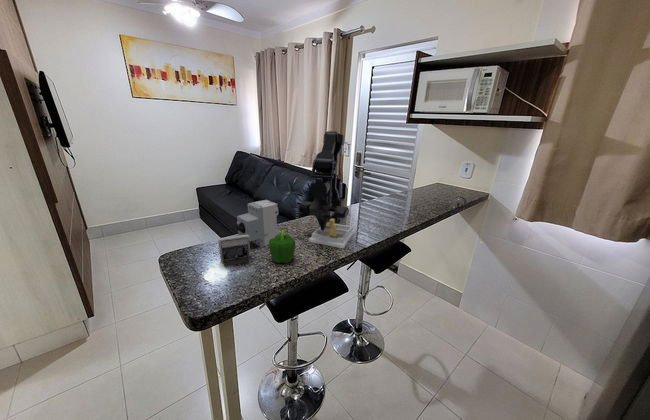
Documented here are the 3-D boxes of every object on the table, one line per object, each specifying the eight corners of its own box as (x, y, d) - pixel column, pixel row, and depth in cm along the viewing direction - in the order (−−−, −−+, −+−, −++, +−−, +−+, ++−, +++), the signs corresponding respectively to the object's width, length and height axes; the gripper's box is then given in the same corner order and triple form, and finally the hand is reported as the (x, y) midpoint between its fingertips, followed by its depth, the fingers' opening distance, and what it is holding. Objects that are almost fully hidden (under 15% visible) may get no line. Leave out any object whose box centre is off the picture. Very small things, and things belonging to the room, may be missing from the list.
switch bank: (309, 241, 97) (309, 234, 96) (324, 227, 111) (324, 220, 110) (343, 248, 92) (344, 240, 91) (354, 232, 106) (355, 225, 105)
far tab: (327, 230, 105) (327, 220, 103) (329, 227, 107) (329, 217, 106) (333, 231, 104) (334, 221, 102) (336, 228, 106) (336, 219, 105)
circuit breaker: (235, 245, 92) (231, 206, 88) (268, 234, 102) (266, 199, 97) (245, 252, 87) (242, 212, 83) (279, 240, 97) (278, 203, 92)
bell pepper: (286, 269, 78) (285, 239, 75) (265, 262, 82) (263, 234, 78) (300, 257, 85) (300, 230, 82) (280, 251, 89) (279, 225, 86)
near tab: (327, 238, 96) (327, 228, 95) (330, 236, 99) (330, 225, 98) (334, 240, 95) (335, 229, 94) (337, 237, 98) (337, 226, 97)
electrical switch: (250, 255, 86) (248, 231, 82) (252, 264, 81) (250, 239, 78) (220, 260, 82) (217, 236, 78) (221, 270, 78) (218, 244, 74)
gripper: (290, 193, 89) (291, 234, 94) (341, 199, 83) (339, 242, 88) (304, 187, 99) (304, 223, 104) (350, 192, 93) (348, 231, 98)
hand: (322, 230), depth 98 cm, fingers closed
